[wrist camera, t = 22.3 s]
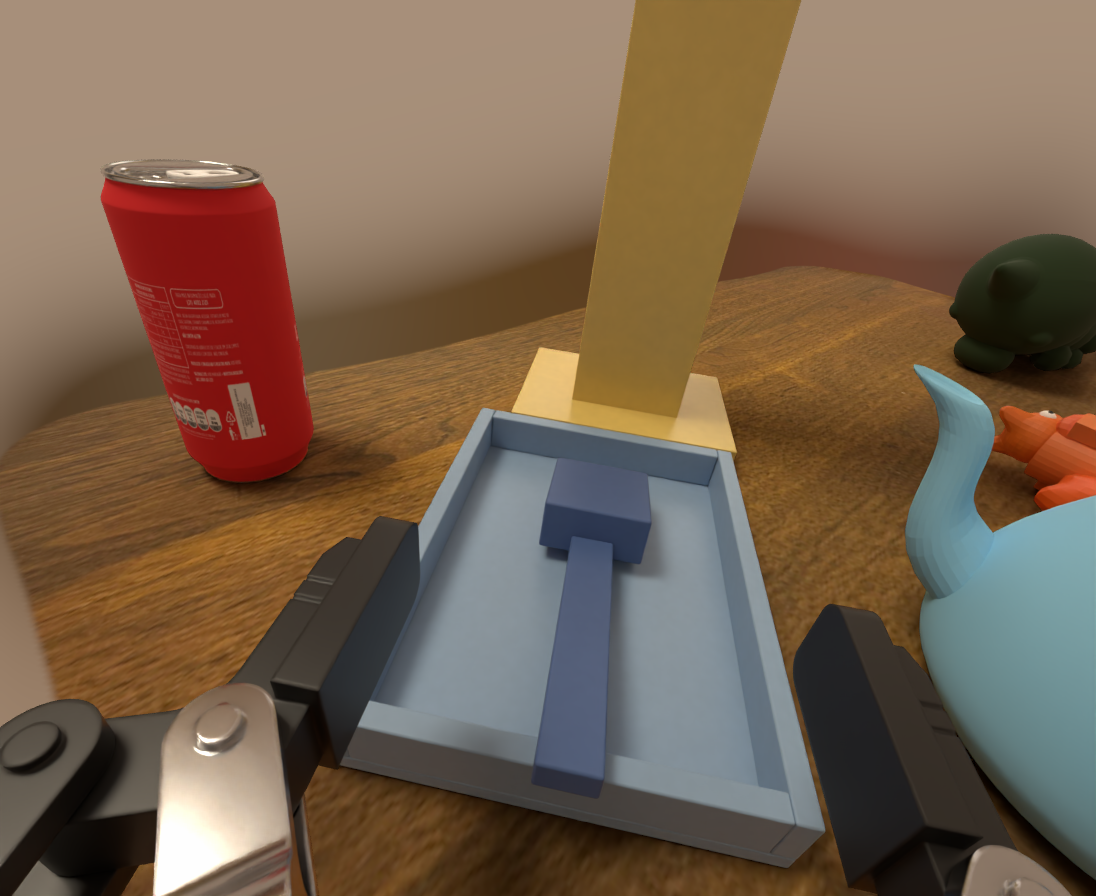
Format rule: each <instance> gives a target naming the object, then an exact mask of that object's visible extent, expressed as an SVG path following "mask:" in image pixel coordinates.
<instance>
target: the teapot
mask: <svg viewBox="0 0 1096 896" xmlns="http://www.w3.org/2000/svg"><path fill="white" fill-rule="evenodd" d="M914 370H915V372H916V374H917V375H918V377H919V378H920V379H921V381H922V382H923V384H924V385H925V387H926V389H927V390H928V392H929V394H930V395H931V397H932V399H933V400H934V402H935V404H936V409H937V413H938V418H939V422H940V426H939V437H938V442H937V446H936V449H935V452H934V455H933V458H932V460H931V462H930V465H929V467H928V469H927V471H926V473H925V475H924V477H923V480H922V482H921V484H920V486H919V488H918V490H917V492H916V494H915V497H914V499H913V502H912V504H911V507H910V510H909V514H908V519H907V524H906V529H905V538H906V550H907V553H908V556H909V559H910V562H911V564H912V567H913V570H914V572H915V574H916V576H917V577H918V578H919V580H920V581H921V583H922V584H923V586H924V587H925V589H926V593H925V596H924V599H923V602H922V606H921V612H920V625H919V631H920V638H921V646H922V650H923V653H924V657H925V660H926V663H927V667H928V670H929V673H930V676H931V679H932V682H933V685H934V687H935V690H936V692H937V694H938V696H939V698H940V700H941V702H942V704H943V707H944V709H945V711H946V712H947V714H948V716H949V718H950V720H951V722H952V724H953V726H954V728H955V730H956V732H957V734H958V736H959V737H960V739H961V741H962V742H963V744H964V745H965V747H966V748H967V750H968V751H969V753H970V754H971V755H972V757H973V758H974V760H975V761H976V763H977V764H978V765H979V767H980V768H981V769H982V770H983V772H984V773H985V774H986V775H987V777H988V778H989V779H990V780H991V782H992V783H993V784H994V785H995V787H996V788H997V789H998V790H999V791H1000V792H1001V793H1002V794H1003V795H1004V797H1005V798H1006V799H1007V800H1008V801H1009V802H1010V803H1011V804H1012V805H1013V806H1014V808H1015V809H1016V810H1017V811H1018V812H1019V813H1020V814H1021V815H1022V816H1023V817H1024V818H1025V819H1026V820H1027V821H1028V822H1029V823H1030V824H1031V825H1032V826H1033V827H1034V828H1035V829H1036V830H1037V831H1038V832H1039V833H1040V834H1042V835H1043V836H1044V837H1045V838H1046V839H1047V840H1048V841H1049V842H1050V843H1051V844H1052V845H1054V846H1055V847H1056V848H1057V849H1058V850H1059V851H1061V852H1062V853H1063V854H1064V855H1065V856H1066V857H1067V858H1069V859H1070V860H1071V861H1072V862H1073V863H1074V864H1075V865H1077V866H1078V867H1079V868H1081V869H1082V870H1083V871H1084V872H1086V873H1087V874H1088V875H1090V876H1091V877H1092V878H1093V879H1095V880H1096V495H1095V496H1091V497H1087V498H1084V499H1080V500H1077V501H1073V502H1070V503H1066V504H1063V505H1059V506H1056V507H1053V508H1051V509H1048V510H1045V511H1042V512H1039V513H1036V514H1033V515H1030V516H1028V517H1025V518H1023V519H1020V520H1018V521H1016V522H1014V523H1012V524H1010V525H1007V526H1005V527H1003V528H1001V529H999V530H997V531H995V532H993V533H992V531H991V530H990V529H989V528H988V526H987V525H986V524H985V522H984V521H983V520H982V518H981V517H980V516H979V514H978V513H977V510H976V507H975V504H974V492H975V488H976V485H977V482H978V480H979V478H980V475H981V473H982V471H983V469H984V467H985V465H986V462H987V460H988V458H989V456H990V453H991V450H992V447H993V443H994V434H995V428H994V423H993V419H992V415H991V412H990V410H989V409H988V407H987V406H986V405H985V404H984V402H983V401H982V400H981V399H980V398H979V397H977V396H976V395H975V394H973V393H972V392H971V391H969V390H968V389H966V388H964V387H963V386H961V385H960V384H958V383H956V382H954V381H953V380H951V379H949V378H947V377H945V376H944V375H942V374H940V373H938V372H936V371H933V370H931V369H929V368H927V367H924V366H921V365H914Z"/></svg>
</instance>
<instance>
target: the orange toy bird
mask: <svg viewBox="0 0 1096 896" xmlns="http://www.w3.org/2000/svg"><path fill="white" fill-rule="evenodd" d="M999 416H1000V418H1001V419H1002V421H1003V423H1004V424H1005V428H1004V430H1003V432H1002V433H1001V435H998V436H995V437H994V443H993V447H992V450H991V451H996V452H1000V453H1004V454H1006V455H1009V456H1011V457H1013V458H1015V459H1016V460H1019V461H1021V462H1024V463H1028V465H1027V467H1026V469H1025V471H1024V473H1025V474H1027V475H1029V476H1031V477H1033V478H1035V479H1037V480H1038V481H1037V483H1036V484H1035V485H1034V488H1036V489H1038V490H1040V491H1039V492H1038V493H1037V494H1036V495H1035V498H1034V501H1035V503H1036V504H1037V506H1038V507H1039V508H1040V509H1041V510H1042V511H1045V510H1048V509H1051V508H1053V507H1056V506H1059V505H1063V504H1066V503H1070V502H1073V501H1077V500H1080V499H1084V498H1087V497H1091V496H1095V495H1096V415H1093V414H1090V413H1087V414H1086V415H1072V416H1069V417H1065V418H1061V417H1060V416H1059V415H1057V414H1054V413H1053V412H1052V411H1042V412H1040V413H1028V412H1025V411H1023V410H1020V409H1018V408H1015V407H1011V406H1005V407H1002V408H1001V409H1000V415H999Z"/></svg>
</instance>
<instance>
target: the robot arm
mask: <svg viewBox="0 0 1096 896" xmlns="http://www.w3.org/2000/svg"><path fill="white" fill-rule="evenodd" d="M419 583H420V552H419V529H418V525H417V523H414V522H409V521H404V520H398V519H393V518H388V517H383V516H379V517H377V518H376V519H375V520H374V522H373V523H372V524H371V526H370V528H369V529H368V531H367V532H366V534H365V535H364V537H363V538H362V540H360V539H355V538H349V537H346V538H344V539H343V540H342V541H340V542H339V543H337V544H336V545H335V546H333V547H332V548H330V549H329V550H328V551H326V552H325V553H323V554H322V556H321V557H320V559H319V560H318V561H317V563H316V564H315V566H314V567H313V568H312V570H311V571H310V573H309V574H308V575H307V579H306V581H305V580H304V581H303V582H302V584H301V585H300V586H299V588H298V589H297V591H296V592H295V593H294V597H293V599H290V600H289V602H288V603H287V605H286V606H285V607H284V609H283V610H282V612H281V613H280V614H279V616H278V617H277V619H276V620H275V621H274V623H273V624H272V625H271V627H270V628H269V630H268V631H267V632H266V634H265V635H264V637H263V638H262V639H261V641H260V642H259V644H258V645H257V646H256V648H255V649H254V651H253V652H252V653H251V655H250V656H249V658H248V659H247V660H246V662H245V663H244V665H243V666H242V667H241V669H240V670H239V671H238V672H237V674H236V675H235V676H234V677H233V678H232V679H231V680H230V681H229V682H228V683H227V684H226V685H223V686H219V687H217V688H214V689H212V690H209V691H207V692H206V693H204V694H202V695H200V696H199V697H197V698H196V699H194V700H193V701H191V702H190V703H189V704H188V705H187V706H186V707H184V708H181V709H178V710H173V711H167V712H159V713H151V714H142V715H134V716H125V717H117V718H108V719H104V717H103V716H102V715H101V713H100V712H99V710H98V709H97V708H96V707H95V706H94V705H93V704H91V703H89V702H87V701H83V700H80V699H64V700H57V701H53V702H49V703H46V704H42V705H39V706H37V707H35V708H32V709H30V710H28V711H26V712H24V713H22V714H20V715H18V716H17V717H15V718H13V719H12V720H10V721H8V722H7V723H5V724H4V725H3V726H1V727H0V896H121V894H122V892H123V891H124V889H125V887H126V886H127V884H128V883H129V881H130V879H131V878H132V876H133V874H134V873H135V871H136V869H137V868H138V866H139V865H142V864H148V863H154V862H155V870H154V889H153V896H319V891H318V884H317V877H316V870H315V863H314V856H313V849H312V843H311V836H310V829H309V822H308V815H307V808H306V801H305V794H304V792H305V790H306V788H307V786H308V784H309V782H310V780H311V778H312V776H313V774H314V772H315V770H316V768H317V766H318V765H320V766H324V767H328V768H333V769H337V770H338V767H339V765H340V763H341V761H342V759H343V757H344V754H345V752H346V750H347V748H348V746H349V744H350V741H351V739H352V737H353V735H354V733H355V731H356V728H357V726H358V724H359V722H360V720H361V717H362V715H363V713H364V711H365V709H366V707H367V704H368V702H369V700H370V698H371V696H372V694H373V691H374V689H375V687H376V685H377V683H378V681H379V678H380V676H381V674H382V672H383V670H384V668H385V665H386V663H387V661H388V659H389V657H390V655H391V652H392V650H393V648H394V646H395V644H396V642H397V639H398V637H399V635H400V633H401V631H402V629H403V626H404V624H405V622H406V620H407V618H408V616H409V613H410V611H411V609H412V607H413V605H414V602H415V599H416V596H417V593H418V588H419ZM793 678H794V684H795V688H796V692H797V696H798V700H799V703H800V707H801V711H802V715H803V718H804V722H805V726H806V730H807V734H808V737H809V741H810V745H811V749H812V752H813V756H814V760H815V764H816V768H817V771H818V775H819V779H820V783H821V786H822V790H823V794H824V798H825V801H826V805H827V809H828V813H829V817H830V820H831V824H832V828H833V832H834V835H835V839H836V843H837V847H838V850H839V854H840V858H841V862H842V866H843V869H844V873H845V877H846V881H847V884H848V887H849V888H854V889H858V890H862V891H867V892H871V893H876V894H878V896H1072V895H1071V894H1070V893H1069V892H1068V891H1067V890H1066V889H1065V888H1064V886H1063V885H1062V884H1061V883H1060V882H1059V881H1058V880H1057V879H1055V878H1054V877H1053V876H1052V875H1051V874H1050V873H1049V872H1048V871H1046V870H1045V869H1044V868H1043V867H1042V866H1040V865H1039V864H1037V863H1036V862H1035V861H1033V860H1032V859H1030V858H1029V857H1027V856H1025V855H1023V854H1021V853H1020V852H1018V850H1017V849H1016V847H1015V845H1014V844H1013V842H1012V840H1011V838H1010V836H1009V834H1008V832H1007V830H1006V828H1005V826H1004V825H1003V823H1002V821H1001V819H1000V817H999V815H998V813H997V811H996V809H995V807H994V805H993V803H992V801H991V799H990V797H989V795H988V793H987V791H986V789H985V787H984V785H983V783H982V781H981V779H980V777H979V775H978V773H977V771H976V769H975V767H974V765H973V763H972V761H971V759H970V757H969V755H968V753H967V751H966V749H965V747H964V745H963V743H962V741H961V739H960V738H958V737H956V734H955V733H956V730H955V728H954V726H953V724H952V722H951V720H950V718H949V716H948V714H947V712H945V711H943V704H942V702H941V700H940V698H939V696H938V694H937V692H936V690H935V688H934V686H933V684H932V682H931V680H930V678H929V676H928V675H927V673H926V672H925V671H924V670H923V669H922V668H921V667H920V666H919V664H918V663H917V662H916V661H915V660H914V659H913V658H912V656H911V655H910V654H909V653H908V652H907V651H906V650H905V649H904V647H900V646H895V645H893V643H892V641H891V639H890V637H889V635H888V633H887V631H886V628H885V626H884V624H883V622H882V620H881V618H880V617H879V616H878V615H877V614H876V613H874V612H871V611H866V610H861V609H856V608H851V607H845V606H840V605H835V604H829V605H827V606H826V607H825V608H824V609H823V610H822V612H821V614H820V615H819V617H818V618H817V620H816V621H815V623H814V625H813V626H812V628H811V629H810V631H809V632H808V634H807V636H806V637H805V639H804V640H803V642H802V644H801V645H800V647H799V648H798V650H797V652H796V655H795V658H794V664H793Z"/></svg>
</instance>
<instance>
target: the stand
mask: <svg viewBox="0 0 1096 896" xmlns="http://www.w3.org/2000/svg"><path fill="white" fill-rule="evenodd" d="M800 3H801V0H636V2H635V8H634V15H633V20H632V27H631V33H630V39H629V46H628V52H627V58H626V65H625V71H624V77H623V83H622V90H621V96H620V102H619V108H618V115H617V121H616V127H615V133H614V139H613V146H612V152H611V158H610V164H609V171H608V178H607V184H606V189H605V196H604V203H603V208H602V214H601V221H600V227H599V234H598V239H597V246H596V252H595V258H594V265H593V271H592V277H591V283H590V290H589V296H588V302H587V308H586V315H585V321H584V327H583V333H582V340H581V346H580V352H579V354H576V353H570V352H564V351H558V350H552V349H546V348H541V347H540V348H539V350H538V352H537V354H536V356H535V359H534V361H533V363H532V366H531V368H530V370H529V372H528V375H527V377H526V379H525V382H524V384H523V386H522V388H521V391H520V393H519V395H518V398H517V400H516V402H515V404H514V407H513V409H512V411H511V413H515V414H520V415H526V416H531V417H537V418H542V419H548V420H554V421H559V422H565V423H570V424H576V425H581V426H587V427H592V428H598V429H604V430H609V431H615V432H620V433H626V434H631V435H637V436H642V437H648V438H654V439H659V440H665V441H670V442H676V443H681V444H687V445H693V446H698V447H704V448H709V449H715V450H721V451H726V452H731V454H732V458H733V461H734V459H735V456H736V454H737V451H736V447H735V443H734V439H733V436H732V432H731V428H730V425H729V421H728V417H727V413H726V410H725V406H724V402H723V398H722V395H721V391H720V387H719V383H718V380H717V378H716V377H710V376H704V375H699V374H693V373H691V369H692V366H693V362H694V359H695V356H696V352H697V349H698V346H699V342H700V339H701V336H702V332H703V329H704V325H705V322H706V319H707V315H708V312H709V309H710V305H711V302H712V299H713V295H714V292H715V289H716V285H717V282H718V278H719V275H720V272H721V268H722V265H723V261H724V258H725V255H726V252H727V248H728V245H729V241H730V238H731V235H732V231H733V228H734V225H735V221H736V218H737V215H738V211H739V208H740V204H741V201H742V198H743V194H744V191H745V187H746V184H747V181H748V178H749V174H750V171H751V168H752V164H753V161H754V157H755V154H756V150H757V147H758V144H759V141H760V137H761V134H762V130H763V127H764V124H765V120H766V117H767V114H768V110H769V107H770V104H771V100H772V97H773V94H774V90H775V87H776V83H777V80H778V77H779V73H780V70H781V66H782V63H783V60H784V56H785V53H786V50H787V46H788V43H789V40H790V36H791V33H792V29H793V26H794V23H795V19H796V16H797V13H798V10H799V6H800Z"/></svg>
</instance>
